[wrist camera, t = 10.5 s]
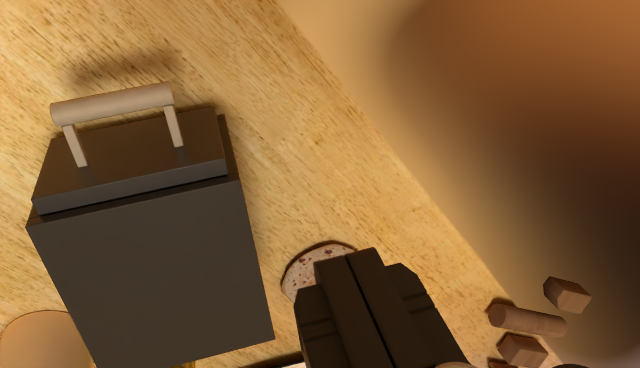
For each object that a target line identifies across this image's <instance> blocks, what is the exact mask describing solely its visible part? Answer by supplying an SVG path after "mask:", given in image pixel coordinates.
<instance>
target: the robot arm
mask: <svg viewBox="0 0 640 368" xmlns="http://www.w3.org/2000/svg"><path fill="white" fill-rule="evenodd" d="M313 269H314V275H315V282H316V284H315V285H311V286H307V287H303V288H299V289H297V294H296V298H295V302H294V313H295V318H296V323H297V329H298V334H299V340H300V345H301V350H302V354H303V357H304V361H305V365H306V368H477V367H475V366H473V365H471V364H470V363H469V361H468V360H467V359H466V357H465V356H464V354H463V352H462V351H461V349H460V347H459V346H458V344H457V342H456V341H455V339H454V337H453V335H452V334H451V332H450V330H449V329H448V327H447V325H446V323H445V322H444V320H443V318H442V317H441V315H440V313H439V312H438V310H437V308H435V306H434V303H433V301H432V300H431V298H430V296H429V294H427V291H426V289H425V288H424V286H423V284H422V282H421V281H420V279H419V277H418V276H417V274H415V273H414V272H412V271H411V270H410V269H408V268H407V267H406V266H404V265H403V264H402V263H397V264H393V265H389V266H385V265H384V263H383V262H382V260H381V258H380V256H379V254H378V252H377V250H376V249H375V248H374V247H371V248H367V249H363V250H359V251H355V252H351V253H347V254H344V256H343V255H339V256H335V257H331V258H327V259H323V260H319V261H315V262H313ZM553 368H588V367H585V366H581V365H576V364H563V365H558V366H555V367H553Z"/></svg>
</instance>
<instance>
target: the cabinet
mask: <svg viewBox="0 0 640 368" xmlns="http://www.w3.org/2000/svg"><path fill="white" fill-rule="evenodd" d="M217 121H218V125H219V130H220V135H221V140H222V144H223V149H224V154H225V159H226V163H227V168H228V174H226V175H222V176H221V177H220V178H216V179H211V180H207V181H202V182H197V183H193V184H188V185H184V186H179V187H175V188H170V189H166V190H161V191H156V192H152V193H147V194H143V195H138V196H134V197H129V198H124V199H120V200H115V201H111V202H106V203H102V204H97V205H92V206H88V207H83V208H79V209H74V210H70V211H65V212H64V210H61V211H57V212H52V213H48V214H43V215H38V213H37V211H36V209H35V207H34V205H33V206H32V209H31V212H30V215H29V218H28V220H27V223H26V226H25V228H26V230H27V232H28V234H29V236H30V238H31V240H32V242H33V244H34V246H35V247H36V249H37V251H38V253H39V255H40V257H41V259H42V261H43V263H44V265H45V267H46V269H47V271H48V273H49V275H50V277H51V279H52V281H53V283H54V285H55V287H56V289H57V291H58V292H59V294H60V296H61V298H62V300H63V302H64V304H65V306H66V308H67V310H68V312H69V314H70V316H71V318H72V320H73V322H74V324H75V326H76V328H77V330H78V332H79V334H80V336H81V337H82V339H83V341H84V343H85V345H86V347H87V349H88V351H89V353H90V355H91V357H92V359H93V361H94V363H95V365H96V367H97V368H169V367H173V366H177V365H181V364H184V363H188V362H192V361H196V360H200V359H203V358H207V357H211V356H215V355H218V354H222V353H226V352H230V351H233V350H237V349H241V348H245V347H248V346H252V345H256V344H260V343H263V342H267V341H271V340H275V335H274V331H273V326H272V322H271V317H270V312H269V308H268V303H267V299H266V294H265V290H264V285H263V281H262V276H261V272H260V267H259V263H258V258H257V254H256V249H255V245H254V240H253V235H252V231H251V226H250V222H249V217H248V213H247V208H246V204H245V199H244V195H243V190H242V186H241V181H240V177H239V173H238V169H237V164H236V160H235V156H234V152H233V148H232V144H231V140H230V135H229V131H228V127H227V123H226V119H225V115H224V114H223V115H218V116H217Z"/></svg>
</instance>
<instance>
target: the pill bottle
mask: <svg viewBox="0 0 640 368" xmlns="http://www.w3.org/2000/svg"><path fill="white" fill-rule="evenodd" d="M93 366H94V361H93V359H92V357H91V355H90V353H89V351H88V349H87V347H86V345H85V343H84V341H83V339H82V337H81V336H80V334H79V332H78V330H77V328H76V326H75V324H74V322H73V320H72V318H71V316H70V314H69V313H64V312H59V311H39V312H34V313H30V314H27V315H24V316H21V317H19V318H18V319H16V320H14V321H13V322H11V323H10V324H9V325H8V326H7V327H6V328H5V330H4V331H3V333H2V335H1V337H0V368H93Z"/></svg>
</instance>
